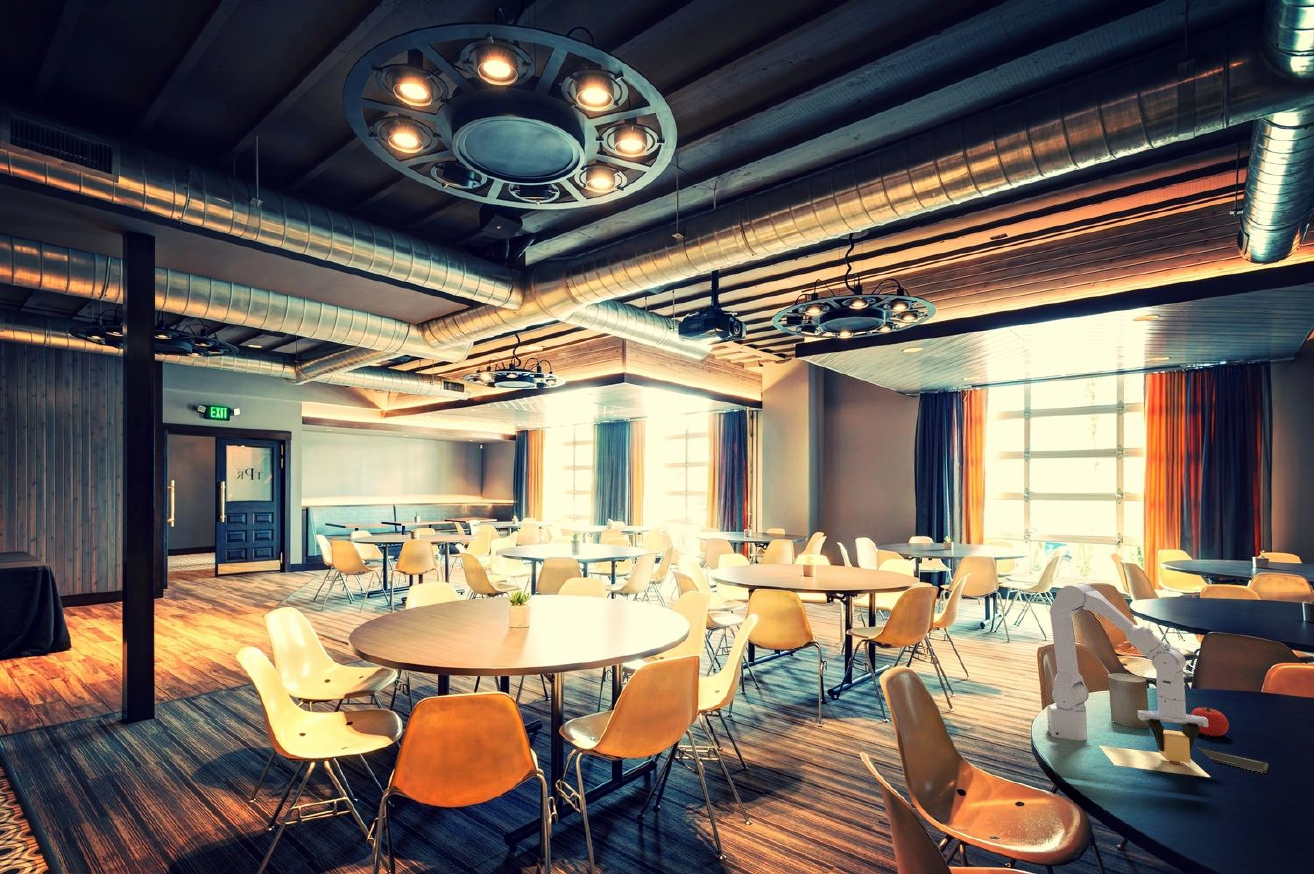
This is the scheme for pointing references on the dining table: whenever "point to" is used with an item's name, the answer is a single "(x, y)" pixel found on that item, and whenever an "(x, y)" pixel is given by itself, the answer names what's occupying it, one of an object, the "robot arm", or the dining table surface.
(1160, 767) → the board
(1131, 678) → the pillar candle
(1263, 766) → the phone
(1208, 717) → the tomato
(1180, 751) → the tan foam cube
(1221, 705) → the dining table surface
